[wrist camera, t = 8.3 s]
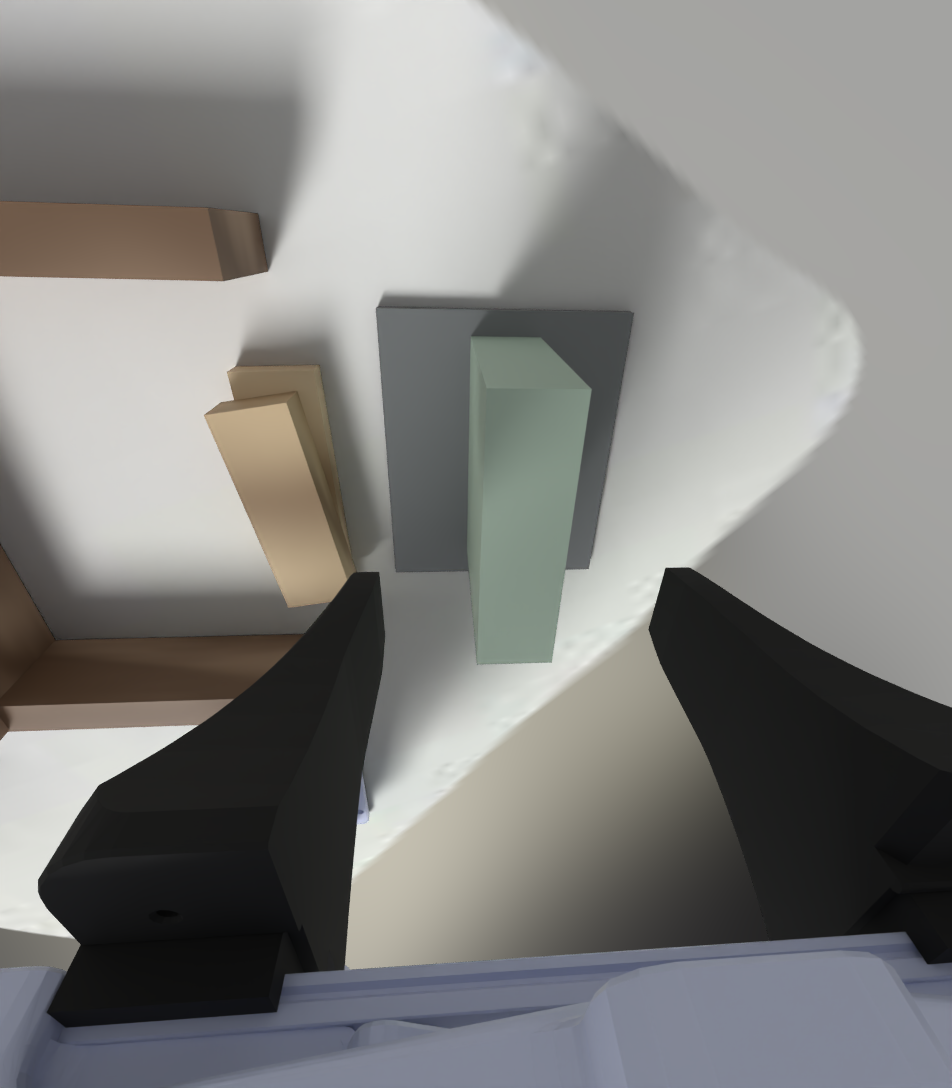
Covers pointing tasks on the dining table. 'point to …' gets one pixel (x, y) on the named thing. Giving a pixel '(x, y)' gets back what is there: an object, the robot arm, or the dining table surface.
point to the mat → (443, 418)
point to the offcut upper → (284, 494)
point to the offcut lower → (314, 405)
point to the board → (520, 493)
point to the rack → (3, 602)
